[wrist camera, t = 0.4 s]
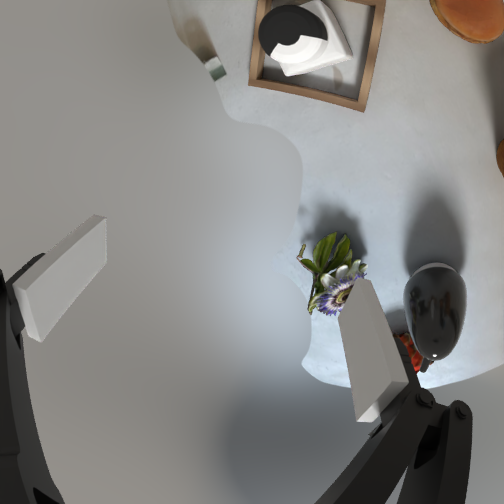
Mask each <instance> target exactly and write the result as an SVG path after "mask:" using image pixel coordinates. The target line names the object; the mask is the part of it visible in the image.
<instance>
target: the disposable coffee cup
mask: <svg viewBox="0 0 504 504" xmlns="http://www.w3.org/2000/svg"><path fill="white" fill-rule="evenodd" d="M497 164H498V167H499V169H500V171H501V173H502V175H503V177H504V139H503V140H502V141H501V143H500V144H499V147H498V149H497Z"/></svg>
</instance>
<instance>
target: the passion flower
mask: <svg viewBox="0 0 504 504" xmlns="http://www.w3.org/2000/svg"><path fill="white" fill-rule="evenodd" d="M336 235H337V231H336V232H334V233H332V234H329V235H328V236H326V237H325V238H323V239H322V240H320V241H319V242H318V243H317V245H316V246H315V248H314V250H313V262H312V261H311V260H309V259H302V260H299V259H298V257H300V258H303V257H302V255H303V251H304V250H305V247H306V244H303V245H302V248H301V250H300V253H299V255H298V256H297V260H298V261H299V262H300V263H301V264H302V265H303V267H305V268H306V269H307V270H309V271H310V272H311V273H312V274H313V285H312V290H311V295H310V300H309V303H308V311H309V313H310V315H312V310H313V309H314V308H315V307H316V308H317V310H318V311H320V312H323V314H325V313H326V315H328V314H330V316H331V314H334V315H336V312H337V311H339V312H341V310H342V308H343V306H344V304H345V302H346V300H347V298H348V296H349V294H350V292H351V290H352V288H353V286H354V284H355V281H356V279H357V277H359V278H363V279H364V276H365V275H366V274H367V273H366V274H365V275H364V273H363V272H364V271H365V270H366V268H367V267H368V265H367V264H364V263H363V264H361V265H359V264H360V261H361V260H359V259H357V260H353V261H351V259H352V250H351V249H350V251H349V246H350V239H349V238H348V237H347V236H346V234H344V237H343V238H342V239H341V240H340V241H339V242H338V244H337V247H336V249H335V252H334V254H333V258H332V259H331V260H330V261H329V262H328V259H329V256H330V253H331V250H332V246H333V245H334V243H335V239H336ZM348 251H349V253H348ZM347 253H348V255H347ZM346 255H347V256H346ZM340 265H341V266H340ZM338 266H339V267H338ZM337 267H338V268H337ZM335 268H337V270H335V271H334V272H332V273H331V274H327V273H329V272H330V271H331V270H334V269H335ZM314 288H315V294H314V296H313V292H314ZM324 288H325V289H326V290H325V289H324ZM312 296H313V297H312Z"/></svg>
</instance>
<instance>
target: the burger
mask: <svg viewBox="0 0 504 504" xmlns="http://www.w3.org/2000/svg"><path fill="white" fill-rule="evenodd" d="M430 4H431V7H432V9H433V11H434V13H435V15H437V17H438V19H439V21H440V22H441V23H442V24H443V25H444V26H445V27H447V28H448V29H449V30H450V31H451V32H452V33H453V34H455V35H457V36H459V37H461V38H462V39H464V40H467V41H468V42H471V43H484V44H485V43H489V42H491V41H492V42H493V40H495V39H496V38H498V37H499V36H500V35H501V34H502V32H503V31H504V2H503V0H430Z"/></svg>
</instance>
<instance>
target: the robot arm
mask: <svg viewBox="0 0 504 504" xmlns="http://www.w3.org/2000/svg"><path fill="white" fill-rule="evenodd" d="M106 262H107V250H106V217H102V216H98V215H93V216H92V217H91V218H89V219H88V220H87V221H85V222H84V223H83V224H82V225H80V226H79V227H78V228H76V229H75V230H74V231H73V232H71V233H70V234H69V235H68V236H66V237H65V238H64V239H63V240H61V241H60V242H59V243H58V244H57V245H56V246H54V247H53V248H52V249H51V250H50V251H48V253H46V254H45V253H41V254H39V255H37V256H35V257H33V258H32V259H31V260H30V261H29V262H28V263H27V264H25V265H24V266H23V267H22V269H20V270H19V271H17V272H16V273H15V274H14V275H13V276H12V277H11V278H10V279H9V280H8V281H7V282H6V283H5V281H4V277H3V273H2V270H1V269H0V504H65V503H64V501H63V498H62V496H61V494H60V493H59V490H58V489H57V487H56V486H55V484H54V482H53V480H52V478H51V476H50V473H49V470H48V467H47V464H46V461H45V457H44V454H43V451H42V447H41V443H40V440H39V436H38V432H37V428H36V423H35V419H34V414H33V410H32V405H31V399H30V394H29V388H28V381H27V374H26V367H25V358H24V348H23V338H22V334H21V331H22V330H23V328H24V327H26V330H27V333H28V336H29V337H32V338H33V339H35V340H37V341H39V342H42V341H43V340H44V338H45V337H46V336H47V334H48V333H49V332H50V330H51V329H52V328H53V327H54V325H55V324H56V323H57V321H58V320H59V319H60V317H61V316H62V315H63V314H64V313H65V311H66V310H67V309H68V308H69V306H70V305H71V304H72V303H73V301H74V300H75V299H76V298H77V296H78V295H79V294H80V293H81V292H82V290H83V289H84V288H85V287H86V286H87V285H88V283H89V282H90V281H91V280H92V279H93V278H94V276H95V275H96V274H97V273H98V272H99V271H100V270H101V268H102V267H103V266H104V265H105V264H106ZM338 322H339V326H340V331H341V336H342V341H343V346H344V351H345V356H346V362H347V367H348V372H349V378H350V384H351V390H352V395H353V402H354V407H355V415H356V421H358V422H373V421H374V420H375V419H376V418H377V417H378V416H379V415H380V416H381V421H382V422H381V423H380V424H379V425H378V426H377V427H376V428H375V429H374V430H373V431H372V432H371V433H370V434H369V435H370V437H369V439H368V440H367V441H366V443H365V444H364V445H363V447H362V448H361V449H360V451H359V452H358V453H357V455H356V456H355V457H354V459H353V460H352V461H351V462H350V464H349V465H348V466H347V467H346V469H345V470H344V471H343V472H342V473H341V475H340V476H339V477H338V478H337V479H336V480H335V482H334V483H333V484H332V485H331V486H330V487H329V488H328V490H327V491H326V492H325V493H324V494H323V495H322V496H321V497H320V498H319V499H318V500H317V502H316V503H315V504H385V503H386V501H387V499H388V498H389V496H390V495H391V493H392V492H393V490H394V488H395V487H396V485H397V483H398V482H399V480H400V478H401V477H402V475H403V473H404V472H405V470H406V468H407V466H408V468H407V473H406V475H405V479H404V482H403V486H402V489H401V492H400V495H399V498H398V502H397V504H465V499H466V492H467V486H468V479H469V470H470V459H471V447H472V420H473V419H472V412H471V410H470V408H469V406H468V405H467V404H466V403H464V402H463V401H460V400H456V401H454V402H452V404H451V405H449V406H445V405H441V404H438V403H436V401H435V398H434V397H433V395H432V394H431V393H430V392H429V391H428V390H426V389H424V388H421V386H420V383H419V380H418V377H417V374H416V372H415V369H414V366H413V364H412V361H411V358H410V357H409V353H408V350H407V348H406V346H405V345H404V343H403V342H402V341H401V339H400V338H395V337H393V335H392V333H391V330H390V327H389V325H388V322H387V320H386V317H385V314H384V312H383V309H382V307H381V304H380V302H379V300H378V297H377V295H376V292H375V290H374V288H373V285H372V283H371V280H367V279H363V278H359V277H357V279H356V281H355V284H354V286H353V288H352V290H351V292H350V294H349V296H348V298H347V300H346V302H345V304H344V306H343V308H342V310H341V312H340V314H339V316H338Z"/></svg>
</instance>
